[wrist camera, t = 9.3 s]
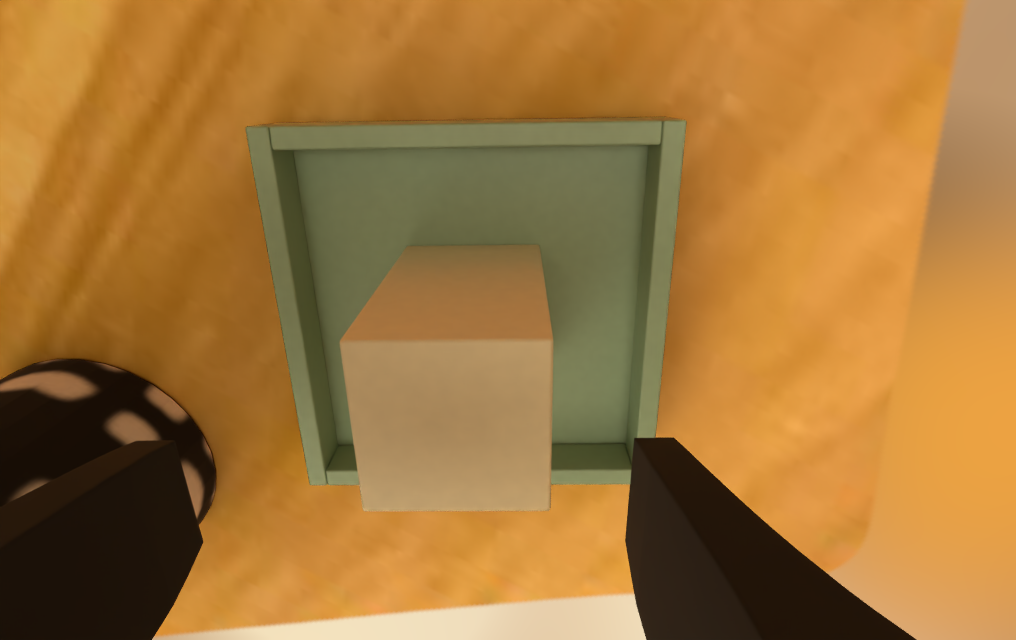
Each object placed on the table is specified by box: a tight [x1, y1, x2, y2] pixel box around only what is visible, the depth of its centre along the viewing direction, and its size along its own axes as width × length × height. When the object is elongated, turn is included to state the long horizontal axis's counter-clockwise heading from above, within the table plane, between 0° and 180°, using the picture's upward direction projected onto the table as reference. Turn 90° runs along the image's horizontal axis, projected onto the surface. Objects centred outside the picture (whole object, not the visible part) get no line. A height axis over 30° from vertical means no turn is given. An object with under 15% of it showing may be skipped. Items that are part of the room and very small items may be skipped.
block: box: [340, 245, 553, 511], centre depth 14 cm, size 4×4×7 cm
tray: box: [246, 117, 687, 485], centre depth 17 cm, size 11×11×2 cm
